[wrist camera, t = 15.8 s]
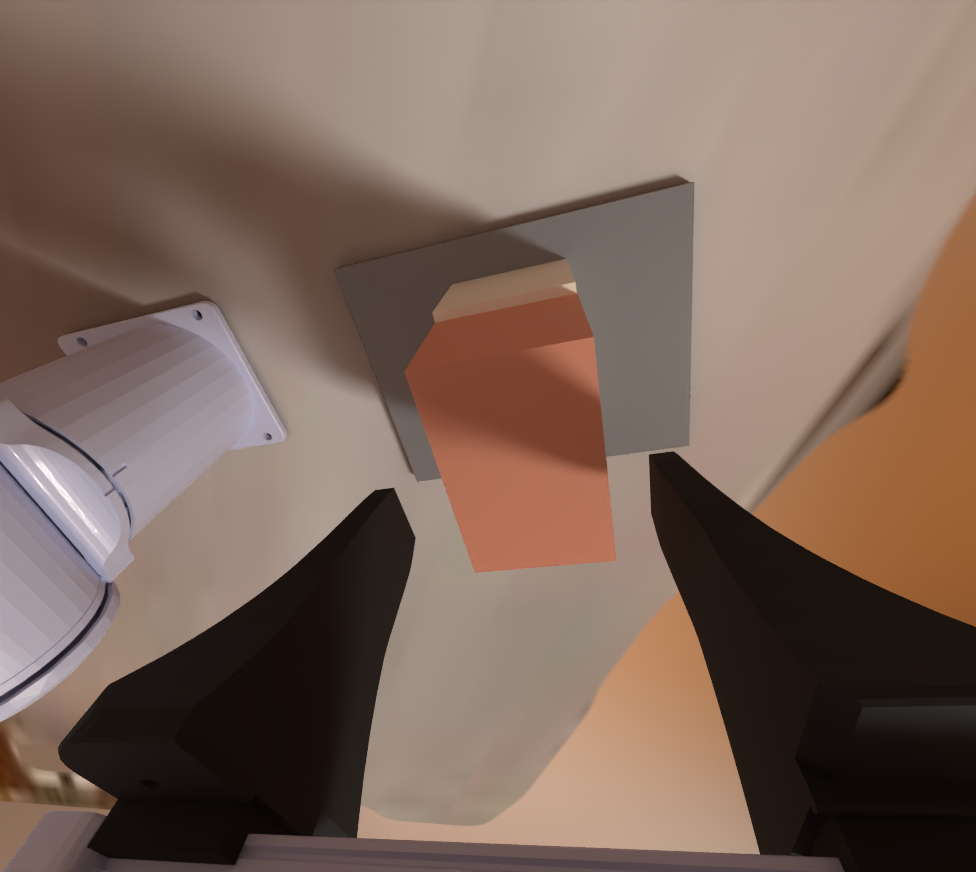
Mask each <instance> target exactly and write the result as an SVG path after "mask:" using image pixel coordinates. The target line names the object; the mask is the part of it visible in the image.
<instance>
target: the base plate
mask: <svg viewBox="0 0 976 872" xmlns="http://www.w3.org/2000/svg"><path fill="white" fill-rule="evenodd" d="M693 219H694V182H687V183H683V184H679V185H675V186H671V187H667V188H663V189H659V190H654V191H650V192H646V193H642V194H638V195H634V196H630V197H626V198H622V199H618V200H613V201H609V202H605V203H601V204H597V205H593V206H589V207H585V208H581V209H577V210H572V211H568V212H564V213H560V214H556V215H552V216H548V217H544V218H540V219H536V220H531V221H527V222H523V223H519V224H515V225H511V226H507V227H503V228H499V229H494V230H490V231H486V232H482V233H478V234H474V235H470V236H466V237H462V238H458V239H453V240H449V241H445V242H441V243H437V244H433V245H429V246H425V247H421V248H417V249H412V250H408V251H404V252H400V253H396V254H392V255H388V256H384V257H380V258H376V259H371V260H367V261H363V262H359V263H355V264H351V265H347V266H343V267H339V268H336V269H334V271H335V274H336V276H337V279H338V281H339V284H340V286H341V289H342V292H343V294H344V297H345V299H346V302H347V304H348V307H349V309H350V312H351V314H352V317H353V320H354V322H355V325H356V327H357V330H358V332H359V335H360V337H361V340H362V342H363V345H364V348H365V350H366V353H367V355H368V358H369V360H370V363H371V365H372V368H373V370H374V373H375V376H376V378H377V381H378V383H379V386H380V388H381V391H382V393H383V396H384V399H385V401H386V404H387V406H388V409H389V411H390V414H391V416H392V419H393V421H394V424H395V427H396V429H397V432H398V434H399V437H400V439H401V442H402V444H403V447H404V449H405V452H406V455H407V457H408V460H409V462H410V465H411V467H412V470H413V472H414V475H415V477H416V480H417V481H425V480H432V479H440V478H441V475H440V472H439V469H438V466H437V463H436V461H435V458H434V455H433V452H432V449H431V446H430V444H429V441H428V438H427V435H426V432H425V429H424V427H423V424H422V421H421V418H420V415H419V412H418V410H417V407H416V404H415V401H414V398H413V395H412V392H411V390H410V387H409V384H408V381H407V378H406V375H405V373H404V372H405V370H406V368H407V367H408V365H409V364H410V362H411V360H412V359H413V357H414V356H415V354H416V353H417V351H418V349H419V348H420V346H421V345H422V343H423V342H424V340H425V338H426V337H427V335H428V334H429V332H430V331H431V329H432V327H433V326H434V324H435V320H434V317H433V314H432V312H433V311H434V309H435V308H436V307H437V305H438V304H439V302H440V301H441V299H442V298H443V297H444V295H445V294H446V292H447V291H448V290H449V288H450V287H451V285H452V284H456V283H461V282H465V281H470V280H474V279H478V278H483V277H487V276H492V275H496V274H501V273H505V272H509V271H514V270H518V269H523V268H527V267H532V266H536V265H541V264H545V263H549V262H554V261H558V260H563V259H567V262H568V264H569V267H570V269H571V272H572V274H573V277H574V279H575V282H576V290H577V293H578V296H579V299H580V301H581V304H582V307H583V309H584V312H585V315H586V317H587V320H588V323H589V325H590V328H591V331H592V333H593V336H594V343H595V353H596V363H597V373H598V383H599V393H600V403H601V413H602V422H603V432H604V442H605V452H606V457H607V456H615V455H622V454H630V453H637V452H645V451H653V450H660V449H668V448H675V447H683V446H689V420H690V370H691V320H692V269H693Z"/></svg>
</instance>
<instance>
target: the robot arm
mask: <svg viewBox="0 0 976 872" xmlns="http://www.w3.org/2000/svg"><path fill="white" fill-rule="evenodd" d="M197 310H198V311H199V312H200V313H201V314H202V317H200V316H199V315H198V313H197ZM84 339H85V340H86V341H85V340H84ZM58 345H59V346H60V348H61V349H62V350H63V352H64V353H65V354H66V356H65V357H62V358H60V359H57V360H55V361H52V362H50V363H47V364H45V365H42V366H40V367H37V368H35V369H32V370H30V371H27V372H25V373H22V374H20V375H17V376H15V377H12V378H10V379H7V380H4V381H2V382H0V722H1V721H3V720H5V719H7V718H9V717H11V716H13V715H14V714H16V713H18V712H20V711H21V710H23V709H25V708H26V707H28V706H29V705H31V704H32V703H34V702H35V701H37V700H38V699H40V698H41V697H43V696H44V695H45V694H47V693H48V692H49V691H51V690H52V689H53V688H55V687H56V686H57V685H58V684H60V683H61V682H62V681H63V680H64V679H65V678H67V677H68V676H69V675H70V674H71V673H72V672H73V671H74V670H75V669H76V668H77V667H78V666H79V665H80V664H81V663H82V662H83V661H84V660H85V659H86V658H87V657H88V656H89V655H90V653H91V652H92V651H93V650H94V648H95V647H96V646H97V644H98V643H99V642H100V640H101V639H102V638H103V637H104V635H105V634H106V632H107V631H108V629H109V628H110V626H111V624H112V622H113V620H114V618H115V616H116V614H117V612H118V608H119V605H120V592H119V590H118V587H117V585H116V584H115V583H114V582H113V580H114V579H115V578H116V577H117V576H118V575H119V574H120V573H121V572H122V571H123V570H124V569H125V568H126V567H127V566H128V565H129V564H130V563H131V562H132V561H133V560H134V559H135V557H134V555H133V554H132V552H131V551H130V548H129V546H128V542H129V541H130V540H131V539H132V538H133V537H134V536H135V535H136V534H138V533H139V532H140V531H141V530H142V529H143V528H144V527H145V526H146V525H147V524H148V523H149V522H151V521H152V520H153V519H154V518H155V517H156V516H157V515H158V514H159V513H160V512H161V511H163V510H164V509H165V508H166V507H167V506H168V505H169V504H170V503H171V502H172V501H173V500H174V499H176V498H177V497H178V496H179V495H180V494H181V493H182V492H183V491H184V490H185V489H186V488H188V487H189V486H190V485H191V484H192V483H193V482H194V481H195V480H196V479H197V478H198V477H200V476H201V475H202V474H203V473H204V472H205V471H206V470H207V469H208V468H209V467H210V466H211V465H213V464H214V463H215V462H216V461H217V460H218V459H219V458H220V457H221V456H222V455H223V454H225V453H226V452H227V451H229V450H235V449H241V448H247V447H253V446H260V445H266V444H272V443H278V442H282V441H283V440H284V439H285V438H286V437H287V432H286V430H285V428H284V426H283V424H282V423H281V421H280V419H279V417H278V415H277V414H276V412H275V410H274V408H273V406H272V404H271V403H270V401H269V399H268V397H267V395H266V394H265V392H264V390H263V388H262V386H261V384H260V383H259V381H258V379H257V377H256V375H255V374H254V372H253V370H252V368H251V366H250V364H249V363H248V361H247V359H246V357H245V355H244V353H243V352H242V350H241V348H240V346H239V344H238V343H237V341H236V339H235V337H234V335H233V333H232V332H231V330H230V328H229V326H228V324H227V323H226V321H225V319H224V317H223V315H222V313H221V312H220V310H219V308H218V307H217V306H216V305H215V304H214V303H213V302H210V301H201V302H197V303H193V304H189V305H185V306H181V307H177V308H173V309H168V310H164V311H160V312H156V313H152V314H148V315H144V316H140V317H136V318H131V319H127V320H123V321H119V322H115V323H111V324H107V325H103V326H99V327H94V328H90V329H86V330H82V331H78V332H74V333H70V334H66V335H63V336H60V337H59V338H58ZM267 433H269V434H270V435H271V436H272V437H271V436H269V435H268V434H267ZM649 467H650V493H651V514H652V518H653V521H654V525H655V529H656V532H657V536H658V539H659V543H660V546H661V549H662V551H663V554H664V556H665V559H666V561H667V563H668V566H669V568H670V571H671V573H672V576H673V578H674V580H675V583H676V585H677V587H678V590H679V592H680V595H681V597H682V599H683V601H684V604H685V606H686V609H687V611H688V613H689V616H690V618H691V621H692V623H693V626H694V628H695V631H696V634H697V636H698V639H699V642H700V645H701V648H702V651H703V654H704V658H705V661H706V664H707V667H708V671H709V674H710V677H711V680H712V684H713V687H714V690H715V694H716V697H717V701H718V704H719V707H720V710H721V714H722V717H723V720H724V724H725V727H726V731H727V735H728V738H729V741H730V745H731V749H732V752H733V756H734V759H735V763H736V766H737V770H738V773H739V777H740V780H741V784H742V788H743V791H744V795H745V799H746V803H747V806H748V810H749V814H750V818H751V821H752V825H753V828H754V832H755V836H756V839H757V844H758V847H759V851H760V855H758V854H733V853H732V854H731V853H709V852H708V853H707V852H706V853H705V852H684V851H659V850H634V849H610V848H586V847H560V846H536V845H512V844H486V843H462V842H437V841H413V840H389V839H387V840H386V839H364V838H363V839H362V838H357V831H358V822H359V813H360V804H361V795H362V787H363V778H364V771H365V764H366V757H367V750H368V743H369V736H370V730H371V724H372V718H373V713H374V707H375V701H376V696H377V690H378V685H379V680H380V675H381V670H382V666H383V661H384V656H385V652H386V649H387V645H388V641H389V638H390V635H391V631H392V628H393V625H394V622H395V619H396V615H397V612H398V609H399V606H400V602H401V599H402V596H403V593H404V589H405V586H406V583H407V579H408V576H409V572H410V569H411V563H412V557H413V551H414V544H415V536H414V533H413V531H412V529H411V526H410V524H409V522H408V520H407V517H406V515H405V513H404V510H403V508H402V506H401V503H400V501H399V499H398V496H397V494H396V492H395V489H394V488H389V489H381V490H375V491H374V492H372V493H371V494H370V495H369V496H368V497H367V498H366V499H365V500H363V501H362V502H361V503H360V504H359V505H358V506H357V507H356V508H355V509H354V510H353V511H352V512H351V513H350V514H349V515H348V516H347V517H346V518H345V519H344V520H343V521H342V522H341V523H340V524H339V525H338V526H337V527H336V528H335V529H334V530H333V531H332V532H331V533H330V534H329V535H328V536H327V537H326V538H325V539H323V540H322V541H321V542H320V543H319V544H318V545H317V546H316V547H315V548H314V549H312V550H311V551H310V552H309V553H308V554H307V555H306V556H305V557H304V558H303V559H301V560H300V561H299V562H298V563H297V564H296V565H295V566H294V567H292V568H291V569H290V570H289V571H288V572H287V573H285V574H284V575H283V576H282V577H280V578H279V579H278V580H277V581H275V582H274V583H273V584H272V585H270V586H269V587H268V588H266V589H265V590H264V591H263V592H261V593H260V594H259V595H257V596H256V597H255V598H253V599H252V600H250V601H249V602H247V603H246V604H244V605H243V606H242V607H240V608H239V609H237V610H236V611H234V612H233V613H232V614H230V615H229V616H227V617H226V618H224V619H223V620H221V621H220V622H218V623H217V624H215V625H214V626H212V627H211V628H209V629H207V630H206V631H204V632H203V633H201V634H199V635H198V636H196V637H195V638H193V639H191V640H190V641H188V642H186V643H184V644H183V645H181V646H179V647H178V648H176V649H174V650H173V651H171V652H169V653H167V654H166V655H164V656H162V657H160V658H158V659H156V660H155V661H153V662H151V663H149V664H147V665H145V666H143V667H141V668H140V669H138V670H136V671H134V672H132V673H130V674H128V675H127V676H125V677H123V678H121V679H119V680H117V681H115V682H113V683H111V684H109V685H108V686H107V687H106V688H105V689H104V691H103V692H102V693H101V694H100V696H99V697H98V698H97V699H96V701H95V702H94V703H93V704H92V705H91V707H90V708H89V709H88V710H87V712H86V713H85V714H84V715H83V716H82V718H81V719H80V720H79V721H78V722H77V724H76V725H75V726H74V727H73V729H72V730H71V731H70V732H69V733H68V735H67V736H66V737H65V738H64V739H63V741H62V742H61V744H60V745H59V747H58V753H59V756H60V760H61V761H62V762H63V763H64V764H65V765H66V766H67V767H68V768H70V769H71V770H72V771H74V772H75V773H77V774H78V775H80V776H81V777H83V778H85V779H86V780H88V781H90V782H91V783H93V784H94V785H96V786H98V787H99V788H101V789H103V790H104V791H106V792H108V793H109V794H111V795H112V796H114V797H116V798H117V799H118V800H117V802H116V803H115V805H114V806H113V808H112V809H111V811H110V813H109V814H108V816H105V815H102V814H98V813H93V812H78V811H51V812H49V813H46V814H45V815H44V817H43V818H42V820H41V821H40V822H39V823H38V825H37V826H36V828H35V829H34V830H33V831H32V833H31V834H30V835H29V837H28V838H27V839H26V841H25V842H24V843H23V845H22V846H21V847H20V849H19V850H18V851H17V852H16V854H15V855H14V856H13V858H12V859H11V860H10V862H9V863H8V864H7V866H6V867H5V868H4V870H3V871H2V872H976V627H974V626H972V625H969V624H967V623H964V622H961V621H959V620H956V619H954V618H951V617H948V616H946V615H943V614H941V613H938V612H936V611H933V610H931V609H929V608H927V607H924V606H922V605H920V604H917V603H915V602H913V601H910V600H908V599H906V598H904V597H901V596H899V595H897V594H895V593H892V592H890V591H888V590H886V589H884V588H881V587H879V586H877V585H875V584H873V583H871V582H868V581H866V580H864V579H862V578H860V577H858V576H856V575H854V574H852V573H850V572H848V571H847V570H845V569H843V568H840V567H838V566H837V565H835V564H833V563H831V562H829V561H827V560H825V559H823V558H821V557H820V556H818V555H816V554H814V553H812V552H810V551H809V550H807V549H805V548H804V547H802V546H800V545H799V544H797V543H795V542H794V541H792V540H790V539H788V538H787V537H785V536H783V535H782V534H780V533H778V532H777V531H775V530H773V529H772V528H770V527H769V526H767V525H766V524H765V523H763V522H762V521H760V520H759V519H757V518H756V517H755V516H753V515H752V514H750V513H749V512H747V511H746V510H745V509H743V508H742V507H741V506H739V505H738V504H737V503H735V502H734V501H733V500H731V499H730V498H729V497H728V496H726V495H725V494H724V493H723V492H721V491H720V490H719V489H717V488H716V487H715V486H714V485H712V484H711V483H710V482H709V481H708V480H706V479H705V478H704V477H703V476H702V475H701V474H699V473H698V472H697V471H696V470H695V469H694V468H692V467H691V466H690V465H689V464H688V463H687V462H686V461H685V460H683V459H682V458H681V457H680V456H679V455H678V454H676V453H675V452H674V451H673V452H665V453H658V454H650V455H649Z"/></svg>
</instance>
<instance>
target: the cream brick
mask: <svg viewBox="0 0 976 872" xmlns="http://www.w3.org/2000/svg"><path fill="white" fill-rule="evenodd" d="M576 293H577V290H576V282H575V279H574V277H573V274H572V272H571V269H570V267H569V264H568V262H567V259H563V260H558V261H554V262H549V263H545V264H541V265H536V266H532V267H527V268H523V269H518V270H514V271H509V272H505V273H501V274H496V275H492V276H487V277H483V278H478V279H474V280H470V281H465V282H461V283H456V284H452V285H451V287H450V288H449V290H448V291H447V292H446V294H445V295H444V297H443V298H442V299H441V301H440V302H439V304H438V305H437V307H436V308H435V309H434V311H433V312H432V314H433V317H434V320H435V323H436V322H440V321H445V320H450V319H455V318H460V317H464V316H469V315H474V314H479V313H484V312H489V311H494V310H498V309H503V308H508V307H513V306H518V305H523V304H528V303H532V302H537V301H542V300H547V299H552V298H557V297H562V296H567V295H571V294H576Z"/></svg>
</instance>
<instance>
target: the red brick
mask: <svg viewBox="0 0 976 872" xmlns="http://www.w3.org/2000/svg"><path fill="white" fill-rule="evenodd" d="M404 373H405V375H406V378H407V381H408V384H409V387H410V390H411V392H412V395H413V398H414V401H415V404H416V407H417V410H418V412H419V415H420V418H421V421H422V424H423V427H424V429H425V432H426V435H427V438H428V441H429V444H430V446H431V449H432V452H433V455H434V458H435V461H436V463H437V466H438V469H439V472H440V475H441V478H442V480H443V483H444V486H445V489H446V492H447V495H448V497H449V500H450V503H451V506H452V509H453V512H454V514H455V517H456V520H457V523H458V526H459V529H460V531H461V534H462V537H463V540H464V543H465V546H466V549H467V551H468V554H469V557H470V560H471V563H472V566H473V568H474V571H475V572H487V571H499V570H510V569H522V568H534V567H546V566H558V565H569V564H581V563H593V562H605V561H616V552H615V542H614V532H613V522H612V512H611V502H610V492H609V482H608V472H607V462H606V452H605V442H604V432H603V422H602V413H601V403H600V393H599V383H598V373H597V363H596V353H595V343H594V336H593V333H592V331H591V328H590V325H589V323H588V320H587V317H586V315H585V312H584V309H583V307H582V304H581V301H580V299H579V296H578V293H576V294H571V295H567V296H562V297H557V298H552V299H547V300H542V301H537V302H532V303H528V304H523V305H518V306H513V307H508V308H503V309H498V310H494V311H489V312H484V313H479V314H474V315H469V316H464V317H460V318H455V319H450V320H445V321H440V322H436V323H435V324H434V326H433V327H432V329H431V331H430V332H429V334H428V335H427V337H426V338H425V340H424V342H423V343H422V345H421V346H420V348H419V349H418V351H417V353H416V354H415V356H414V357H413V359H412V360H411V362H410V364H409V365H408V367H407V368H406V370H405V372H404Z"/></svg>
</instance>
